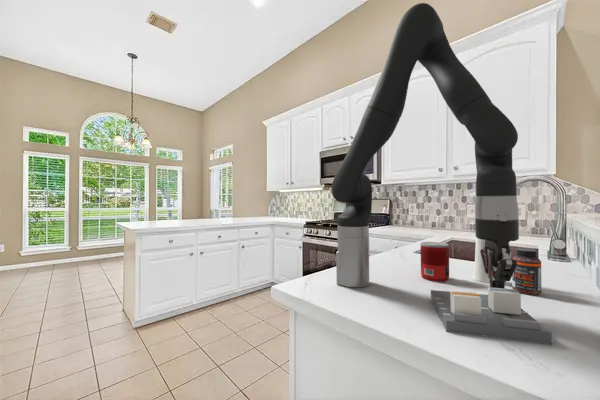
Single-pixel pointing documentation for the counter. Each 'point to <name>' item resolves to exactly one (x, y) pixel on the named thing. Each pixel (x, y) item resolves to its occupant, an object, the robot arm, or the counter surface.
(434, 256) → the canned food
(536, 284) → the supplement bottle
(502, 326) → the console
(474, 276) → the cosmetic bottle
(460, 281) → the counter surface
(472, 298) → the fader
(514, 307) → the fader
